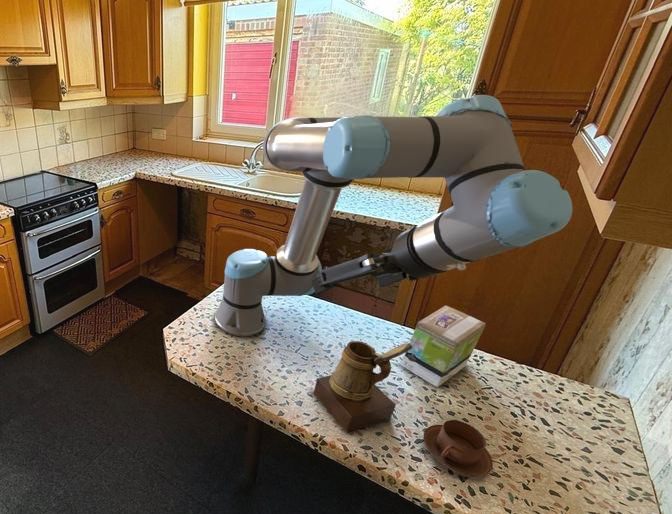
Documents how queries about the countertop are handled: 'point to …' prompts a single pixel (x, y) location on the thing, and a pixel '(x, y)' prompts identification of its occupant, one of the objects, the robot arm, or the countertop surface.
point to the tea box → (442, 345)
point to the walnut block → (354, 406)
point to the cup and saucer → (459, 448)
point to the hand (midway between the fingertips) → (347, 283)
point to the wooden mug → (362, 369)
